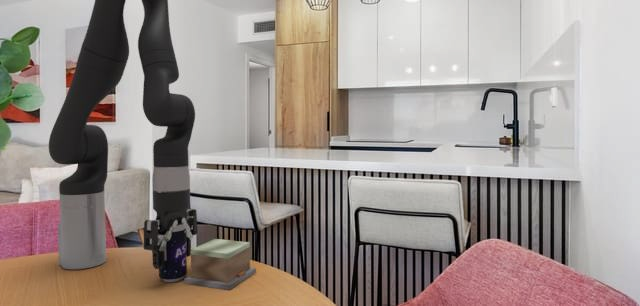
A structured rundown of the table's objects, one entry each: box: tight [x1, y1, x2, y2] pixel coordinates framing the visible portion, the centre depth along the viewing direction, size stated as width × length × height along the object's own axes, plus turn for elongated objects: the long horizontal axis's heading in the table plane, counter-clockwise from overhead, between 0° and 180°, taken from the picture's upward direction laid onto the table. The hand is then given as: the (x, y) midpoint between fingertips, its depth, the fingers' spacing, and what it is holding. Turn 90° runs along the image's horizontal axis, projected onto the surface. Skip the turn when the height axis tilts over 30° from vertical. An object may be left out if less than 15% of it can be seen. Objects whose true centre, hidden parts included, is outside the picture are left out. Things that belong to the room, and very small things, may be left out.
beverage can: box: [158, 223, 188, 283], centre depth 87 cm, size 6×6×12 cm
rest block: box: [183, 238, 257, 291], centre depth 88 cm, size 11×11×7 cm
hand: (172, 262), depth 88 cm, fingers open, 8 cm apart
